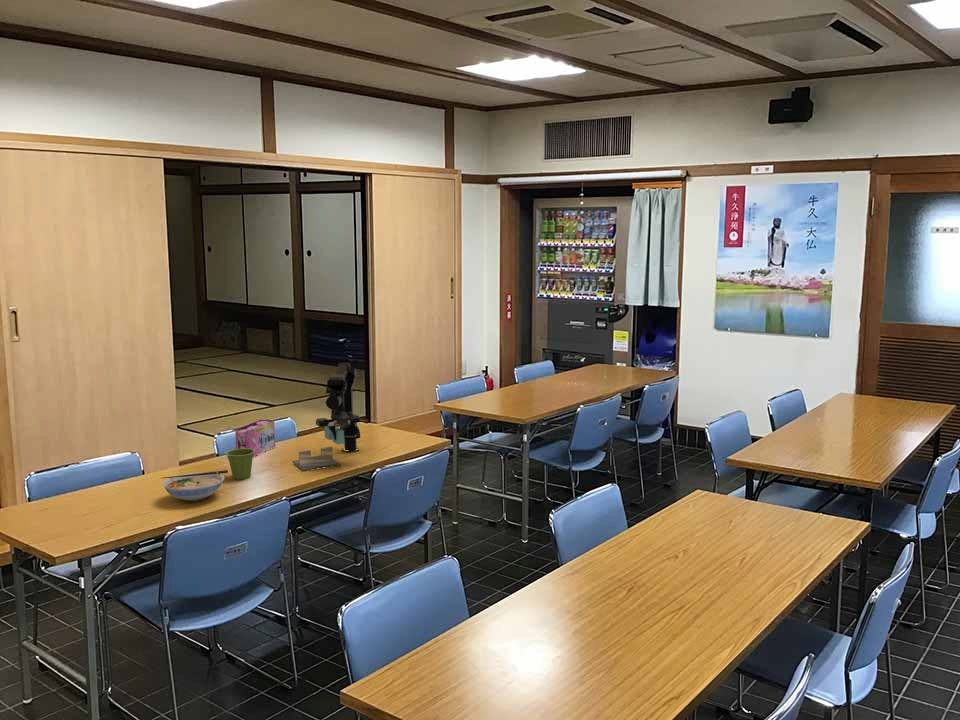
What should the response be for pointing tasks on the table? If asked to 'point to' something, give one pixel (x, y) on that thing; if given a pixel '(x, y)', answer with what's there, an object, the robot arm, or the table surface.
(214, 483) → the ramen bowl
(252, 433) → the gum box
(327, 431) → the teal slotted plate
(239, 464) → the plant pot
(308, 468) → the slotted base
